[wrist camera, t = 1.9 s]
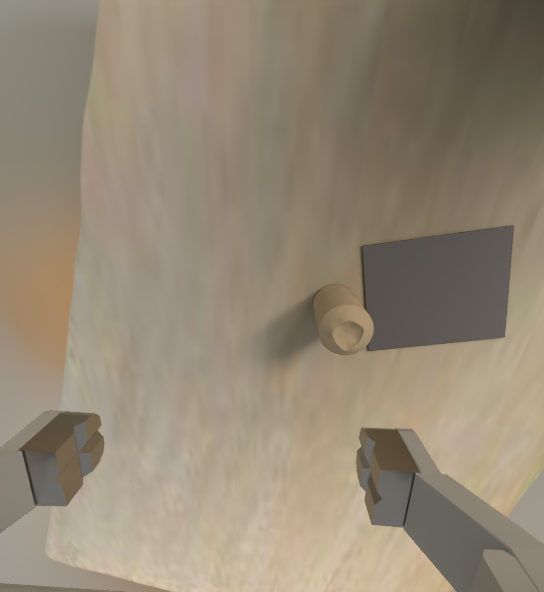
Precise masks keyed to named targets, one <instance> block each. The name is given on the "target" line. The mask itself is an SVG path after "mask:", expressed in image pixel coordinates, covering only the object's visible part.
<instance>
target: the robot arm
mask: <svg viewBox="0 0 544 592" xmlns="http://www.w3.org/2000/svg"><path fill="white" fill-rule="evenodd" d="M100 426H101V420H100V416H99V415H97V414H94V413H81V412H68V411H65V412H63V411H51V410H50V411H47V412H44V413H42V414H41V415H40V416H39V417H37V418H36V419H35V420H34V421H32V422H31V423H30V424H29V425H27V426H26V427H25V428H24V429H23V430H21V431H20V432H19V433H18V434H16V435H15V436H14V437H13V438H11V439H10V440H9V441H8V442H7V443H5V444H4V445H3V446H2V447H0V533H1V532H2V531H3V530H5V529H6V528H8V527H9V526H10V525H12V524H13V523H14V522H16V521H17V520H18V519H20V518H21V517H23V516H24V515H25V514H27V513H28V512H30V511H31V510H32V509H34V508H35V505H39V506H40V505H41V506H67V505H68V504H69V502H70V501H71V500H72V498H73V497H74V496H75V494H76V493H77V492H78V490H79V489H80V488H81V486H82V485H83V477H84V476H86V475H87V474H89V473H90V472H92V471H93V470H94V469H95V467H96V466H97V465H98V463H99V461H100V459H101V456H102V454H103V450H104V438H103V436H102V435H101V434H100V433H99V432H98V429H99V428H100ZM359 440H360V443H361V447H360V448H359V449H358V450H357V458H356V466H357V475H358V480H359V483H360V486H361V487H362V488H363V489H364V490H365V491H366V494H365V504H366V507H367V511H368V514H369V517H370V521H371V524H372V525H382V526H393V527H404V530H405V531H406V533H407V534H408V535H409V536H410V537H411V538H412V540H413V541H414V542H415V543H416V544H417V545H418V547H419V548H420V549H421V550H422V551H423V553H424V554H425V555H426V556H427V557H428V558H429V560H430V561H431V562H432V563H433V564H434V565H435V567H436V568H437V569H438V570H439V571H440V572H441V574H442V575H443V576H444V577H445V578H446V579H447V581H448V582H449V583H450V584H451V585H452V587H453V588H454V589H455V590H456V591H457V592H544V544H543V543H542V542H540V541H539V540H537V539H536V538H534V537H533V536H532V535H530V534H529V533H528V532H526V531H525V530H523V529H522V528H520V527H519V526H518V525H516V524H515V523H514V522H512V521H511V520H510V519H508V518H507V517H505V516H504V515H503V514H501V513H500V512H498V511H497V510H496V509H494V508H493V507H491V506H490V505H489V504H487V503H486V502H484V501H483V500H482V499H480V498H479V497H477V496H476V495H475V494H473V493H472V492H471V491H469V490H468V489H466V488H465V487H464V486H462V485H461V484H459V483H458V482H457V481H455V480H454V479H452V478H451V477H450V476H448V475H444V474H441V472H440V471H439V469H438V468H437V466H436V464H435V463H434V461H433V460H432V458H431V457H430V455H429V453H428V452H427V450H426V449H425V447H424V445H423V444H422V442H421V441H420V439H419V437H418V436H417V434H416V433H415V431H413V430H412V429H382V428H361V430H360V434H359ZM0 592H123V591H108V590H94V589H79V588H63V587H49V586H35V585H19V584H3V583H0Z"/></svg>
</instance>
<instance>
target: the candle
mask: <svg viewBox="0 0 544 592" xmlns="http://www.w3.org/2000/svg"><path fill="white" fill-rule="evenodd" d="M313 311H314V316H315V320H316V324H317V329H318V333H319V337H320V340H321V342H322V344H323V345H324V346H325V347H326V348H327V349H328V350H330V351H331V352H333V353H336V354H340V355H349V354H354V353H357V352H359V351H361V350H362V349H364V348H365V347H366V346H367V345H368V343H369V342H370V341H371V338H372V336H373V332H374V326H373V321H372V319H371V317H370V315H369V314H368V313H367V311H366V310H365V309H364V307H363V306H362V305H361V303H360V302H359V301H358V299H357V298H356V297H355V295H354V294H353V293H352V292H351V291H350V290H349V289H348V288H346V287H344V286H342V285H338V284H332V285H328V286H325V287H323V288H322V289H321V290H319V291H318V293H317V294H316V296H315V298H314V301H313Z"/></svg>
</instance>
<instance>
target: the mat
mask: <svg viewBox="0 0 544 592" xmlns="http://www.w3.org/2000/svg"><path fill="white" fill-rule="evenodd" d="M513 231H514V226H505V227H498V228H491V229H483V230H476V231H469V232H461V233H454V234H447V235H440V236H432V237H425V238H418V239H410V240H403V241H396V242H388V243H381V244H374V245H366V246H362V252H363V269H364V286H365V302H366V311H367V313H368V314H369V315H370V317H371V319H372V321H373V326H374V332H373V336H372V338H371V341H370V342H369V343H368V350H369V351H373V350H383V349H393V348H402V347H412V346H422V345H432V344H442V343H452V342H462V341H472V340H482V339H492V338H502V337H505V328H506V316H507V304H508V292H509V279H510V267H511V255H512V243H513Z"/></svg>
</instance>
